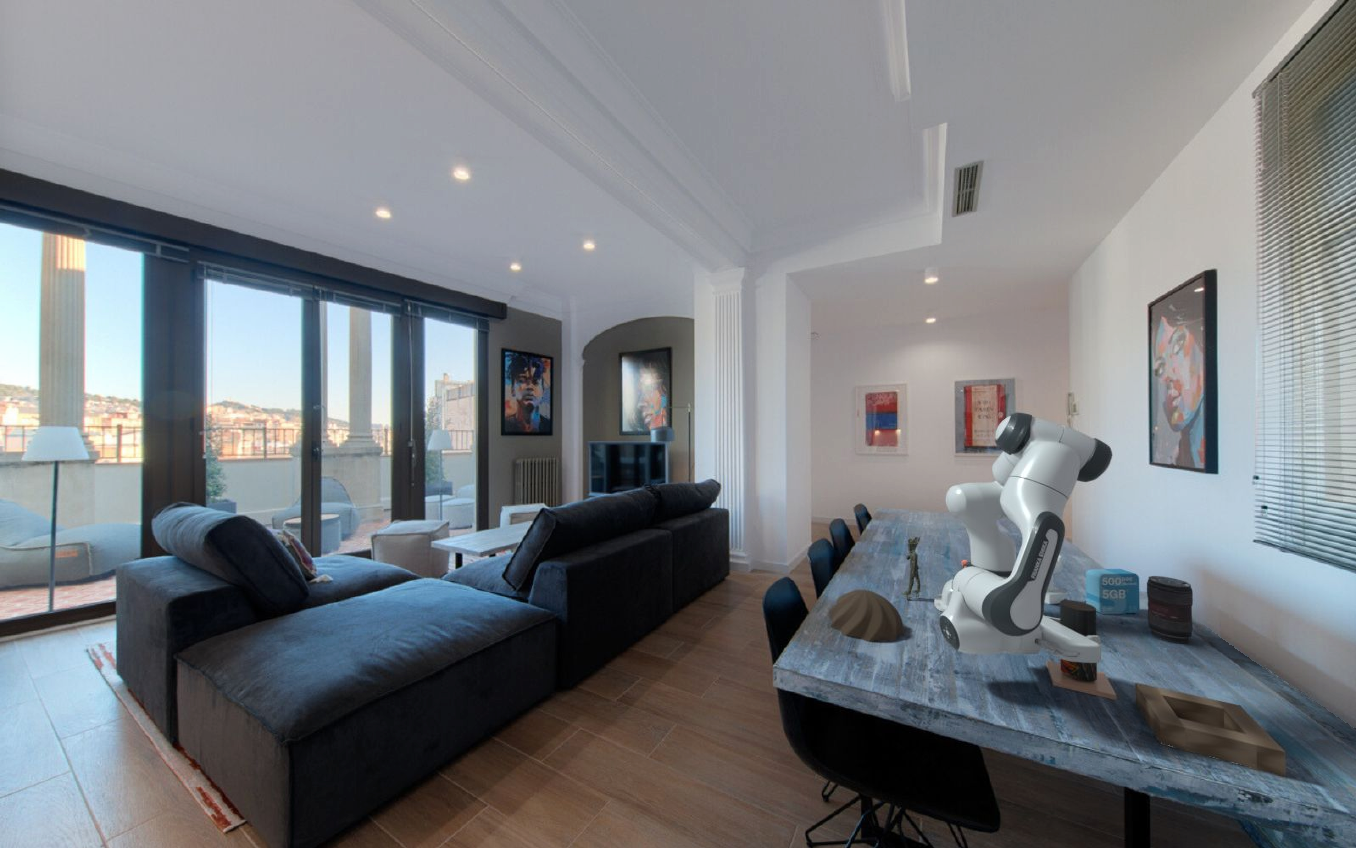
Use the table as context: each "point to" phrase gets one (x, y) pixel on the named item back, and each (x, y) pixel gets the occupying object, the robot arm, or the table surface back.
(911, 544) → the statue
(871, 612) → the decorative dome
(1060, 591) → the figurine
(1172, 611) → the camera lens
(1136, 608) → the data package
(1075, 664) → the deodorant
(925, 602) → the table surface
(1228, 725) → the block
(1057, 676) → the terracotta tile
